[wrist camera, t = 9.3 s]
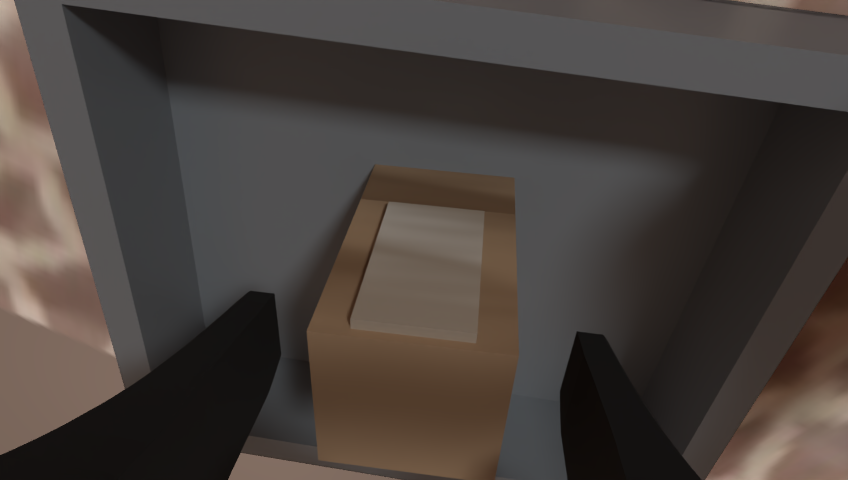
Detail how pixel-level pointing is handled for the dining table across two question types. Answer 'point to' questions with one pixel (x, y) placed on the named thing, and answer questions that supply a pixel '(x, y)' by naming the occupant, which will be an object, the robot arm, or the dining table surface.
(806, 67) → the bin
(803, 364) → the dining table surface
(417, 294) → the small brown box
